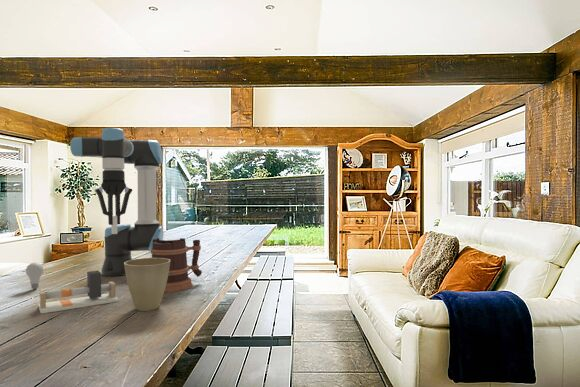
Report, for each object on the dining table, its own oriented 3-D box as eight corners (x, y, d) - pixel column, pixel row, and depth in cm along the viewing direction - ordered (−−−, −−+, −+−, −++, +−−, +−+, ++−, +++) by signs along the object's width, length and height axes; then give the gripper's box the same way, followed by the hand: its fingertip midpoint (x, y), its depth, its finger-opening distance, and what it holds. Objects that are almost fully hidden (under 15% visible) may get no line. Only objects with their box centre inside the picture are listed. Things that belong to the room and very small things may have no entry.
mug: (208, 287, 167) (207, 238, 167) (150, 294, 156) (149, 242, 156) (195, 278, 183) (195, 234, 183) (142, 285, 172) (141, 237, 172)
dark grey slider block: (98, 293, 151) (98, 270, 151) (101, 296, 146) (100, 272, 146) (87, 295, 149) (87, 271, 148) (90, 298, 144) (89, 274, 144)
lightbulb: (35, 291, 163) (34, 264, 163) (22, 290, 164) (21, 263, 164) (47, 287, 169) (46, 261, 169) (34, 287, 170) (34, 261, 170)
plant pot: (127, 317, 129) (126, 267, 129) (122, 305, 142) (121, 259, 142) (175, 310, 136) (174, 262, 135) (166, 299, 149) (165, 256, 149)
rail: (112, 295, 156) (111, 280, 155) (118, 301, 147) (117, 285, 147) (38, 306, 142) (38, 289, 142) (40, 313, 134) (40, 295, 134)
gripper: (129, 170, 158) (130, 231, 158) (92, 170, 150) (93, 234, 151) (134, 170, 152) (135, 233, 152) (96, 169, 144) (97, 235, 144)
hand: (114, 233), depth 151 cm, fingers closed
